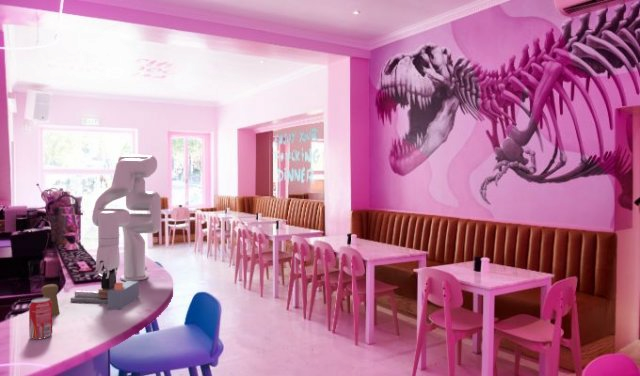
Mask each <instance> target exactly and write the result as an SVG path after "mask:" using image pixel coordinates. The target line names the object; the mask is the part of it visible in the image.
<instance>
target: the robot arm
mask: <svg viewBox="0 0 640 376" xmlns="http://www.w3.org/2000/svg"><path fill="white" fill-rule="evenodd" d="M157 168H158V160H157V158H156V157H155V156H154V155H149V154H124V155H121V156H119V157H118V161H117V162H116V166H115V170H114V173H113V174H114V175H113V177H112V181H111V182H112V183H111V186H110V187H109V188H108V189H106V190H105V191H104V192H102V193H101V194H100V196H98V198H97V199H96V201H95V203H94V207H93V211H92V215H91V217H92V218H91V219H92V221H91V222H92V223H93V225H94V226H96V227H98V228H97V230H98V231H97V235H98V236H97V237H98V245H97V250H96V258H95V259H96V260H95V271H96V272H97V275H99V276H100V279H101V280H100V283H101V284H100V285H101V286H100V287H101V288H106V289H108V288H110V278H109V272H110V273H115V283H117V273H118V272H117V271H118V269H119V267H120V261H121V260H120V247H119V246H120V228H122V233H123V234H122V235H123V274H122V275H120V278H119V279H120V280H121V281H123V282H126V281H139V282H140V281H143V280H147V279H148V278H149V274H148V273H146V271H148V267H147V266H146V242H145V238H144V237H143V236H142V235H141V234H156V233H158V232H159V231H160V229H161V222H162V221H161V217H162V214H161V213H162V199H161V195H160V193H158V192H157V191H150V190H149V191H147V190H146V180H145V178H149V177H151V176H152V175H153V174H155V172H156V170H157ZM124 197H125V206H126V209H123V208H106V206H108V205H109V204H111V203H112V202H114V201H116V200H119V199H121V198H124ZM128 210H130V211H133V212H134V211H136V212H137V211H139V212H140V211H141V212H142V211H143V212H149V213H130V212H129V211H128ZM105 273H106V274H105ZM101 288H100V289H101Z"/></svg>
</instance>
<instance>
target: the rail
mask: <svg viewBox="0 0 640 376" xmlns="http://www.w3.org/2000/svg"><path fill="white" fill-rule="evenodd" d="M70 303H85V304H86V303H91V304H108V298H99V290H98V291H95V290H93V291H91V290H75V291H74V296H72V297H70Z"/></svg>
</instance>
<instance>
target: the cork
mask: <svg viewBox="0 0 640 376" xmlns="http://www.w3.org/2000/svg"><path fill="white" fill-rule="evenodd" d="M58 292H59V286H58V284H56V283H55V284H54V283H50V284H46V285H43V286H42V287H41V293H42V295H43V296H42V298H50V301H51V302H52V318H53V317H56V316H59V315H60V306H59V301H58V295H57V294H58Z"/></svg>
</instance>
